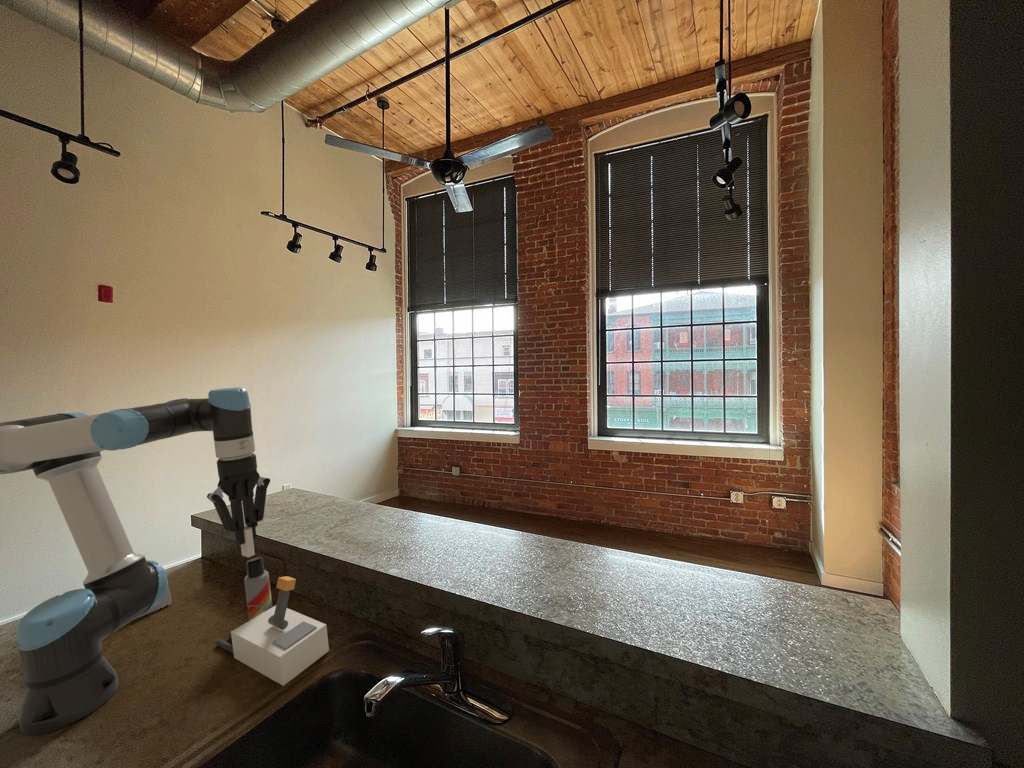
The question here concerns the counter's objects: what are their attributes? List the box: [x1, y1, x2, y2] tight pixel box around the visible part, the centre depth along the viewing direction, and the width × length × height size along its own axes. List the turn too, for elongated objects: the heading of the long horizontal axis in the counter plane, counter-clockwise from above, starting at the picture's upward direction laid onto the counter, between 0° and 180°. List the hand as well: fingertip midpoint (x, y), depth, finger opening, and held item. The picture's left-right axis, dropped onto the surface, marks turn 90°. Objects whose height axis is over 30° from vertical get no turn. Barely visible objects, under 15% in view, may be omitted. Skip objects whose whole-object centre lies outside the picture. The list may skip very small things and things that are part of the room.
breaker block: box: [230, 604, 330, 687], centre depth 105 cm, size 20×12×7 cm, turn 61°
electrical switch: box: [134, 579, 173, 620], centre depth 127 cm, size 9×5×9 cm, turn 141°
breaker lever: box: [268, 575, 297, 630], centre depth 105 cm, size 5×2×11 cm, turn 61°
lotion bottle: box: [243, 555, 273, 621], centre depth 115 cm, size 6×6×20 cm
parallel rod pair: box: [215, 631, 234, 655], centre depth 109 cm, size 9×4×1 cm, turn 61°
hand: (248, 554), depth 98 cm, fingers closed
